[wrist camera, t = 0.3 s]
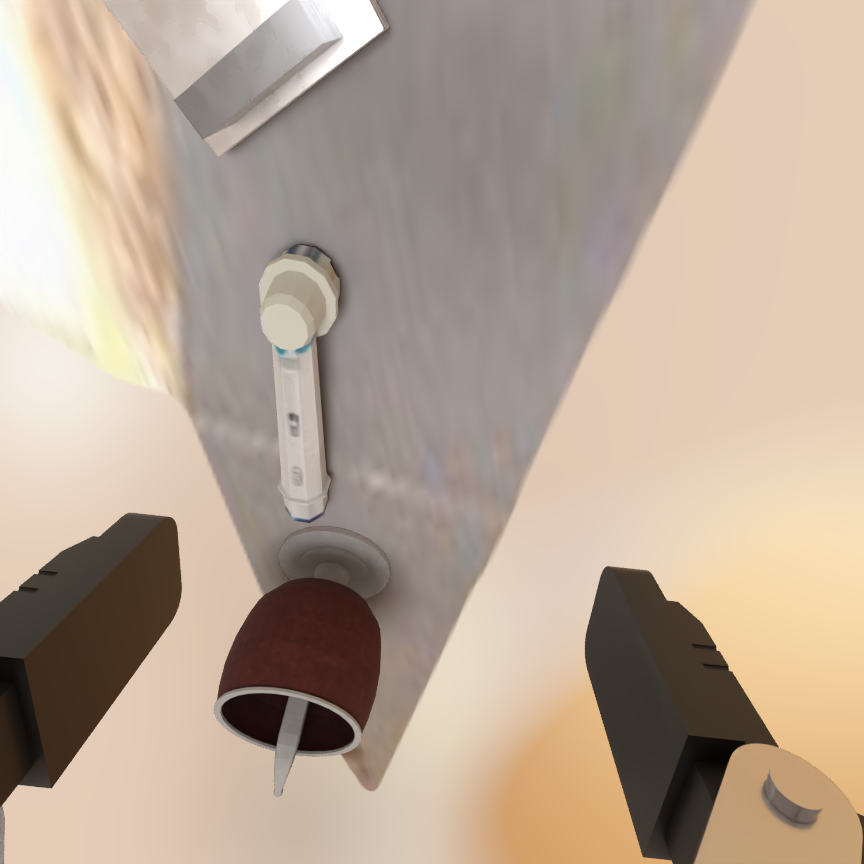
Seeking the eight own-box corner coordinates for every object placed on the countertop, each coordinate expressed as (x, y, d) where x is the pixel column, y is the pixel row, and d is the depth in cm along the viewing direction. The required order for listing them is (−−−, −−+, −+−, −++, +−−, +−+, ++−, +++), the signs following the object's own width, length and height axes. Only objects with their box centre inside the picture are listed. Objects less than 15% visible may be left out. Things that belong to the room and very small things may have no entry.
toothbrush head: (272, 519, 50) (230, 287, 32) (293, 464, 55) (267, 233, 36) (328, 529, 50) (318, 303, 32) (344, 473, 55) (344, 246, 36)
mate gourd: (273, 509, 55) (182, 711, 40) (406, 536, 55) (369, 746, 40) (273, 594, 65) (201, 783, 49) (387, 617, 65) (351, 810, 50)
